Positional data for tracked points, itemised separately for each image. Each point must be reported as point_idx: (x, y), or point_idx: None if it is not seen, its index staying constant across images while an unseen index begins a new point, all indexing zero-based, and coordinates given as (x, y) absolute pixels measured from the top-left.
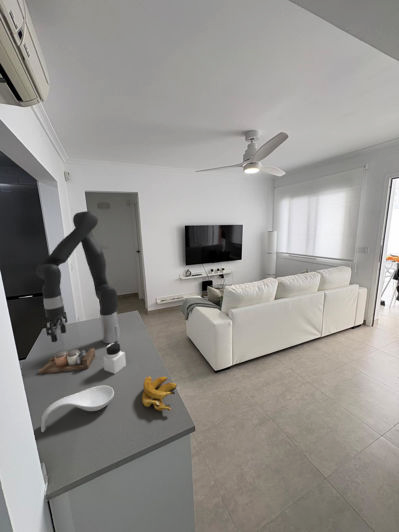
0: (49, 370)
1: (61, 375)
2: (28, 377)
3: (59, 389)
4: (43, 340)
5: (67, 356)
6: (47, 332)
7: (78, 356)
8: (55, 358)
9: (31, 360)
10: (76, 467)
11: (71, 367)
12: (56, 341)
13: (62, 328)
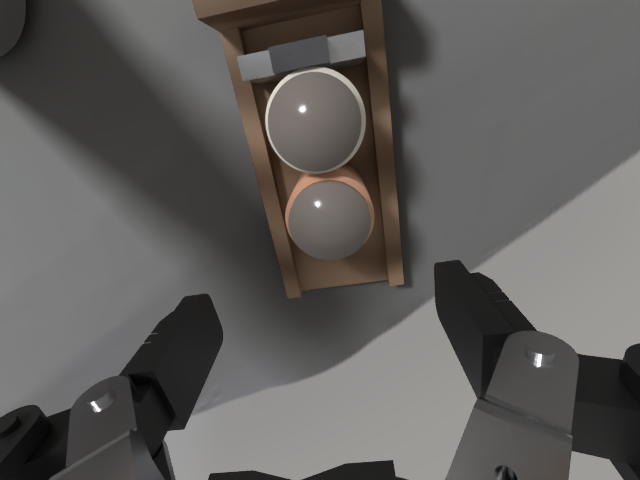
0: (399, 229)
1: (431, 135)
2: (425, 302)
3: (578, 50)
4: None
5: (355, 150)
6: None
7: (339, 54)
8: (369, 233)
9: (290, 374)
10: None
11: (388, 94)
12: (457, 261)
13: (187, 371)
